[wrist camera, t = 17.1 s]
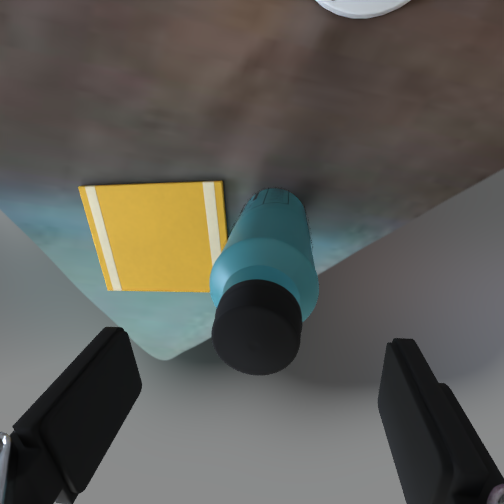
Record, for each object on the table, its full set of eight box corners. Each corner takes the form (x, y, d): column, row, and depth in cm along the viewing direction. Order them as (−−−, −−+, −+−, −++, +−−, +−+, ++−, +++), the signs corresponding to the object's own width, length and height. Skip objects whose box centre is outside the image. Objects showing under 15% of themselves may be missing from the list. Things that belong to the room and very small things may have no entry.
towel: (222, 180, 30) (221, 181, 29) (233, 290, 35) (232, 293, 34) (81, 185, 32) (77, 186, 31) (110, 288, 37) (107, 290, 36)
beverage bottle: (260, 171, 29) (206, 247, 11) (319, 201, 29) (366, 322, 11) (235, 227, 31) (157, 363, 13) (289, 253, 32) (286, 420, 14)
